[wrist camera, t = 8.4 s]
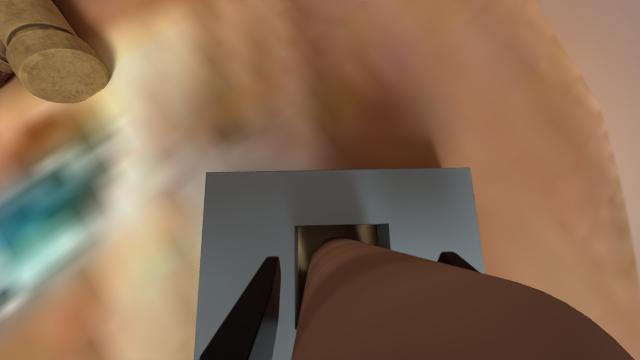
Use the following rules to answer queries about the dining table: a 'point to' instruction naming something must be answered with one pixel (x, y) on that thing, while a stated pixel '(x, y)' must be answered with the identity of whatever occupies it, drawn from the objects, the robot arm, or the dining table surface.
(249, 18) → the dining table surface
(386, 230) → the socket board
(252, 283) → the robot arm
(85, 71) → the gavel
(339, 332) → the peg
